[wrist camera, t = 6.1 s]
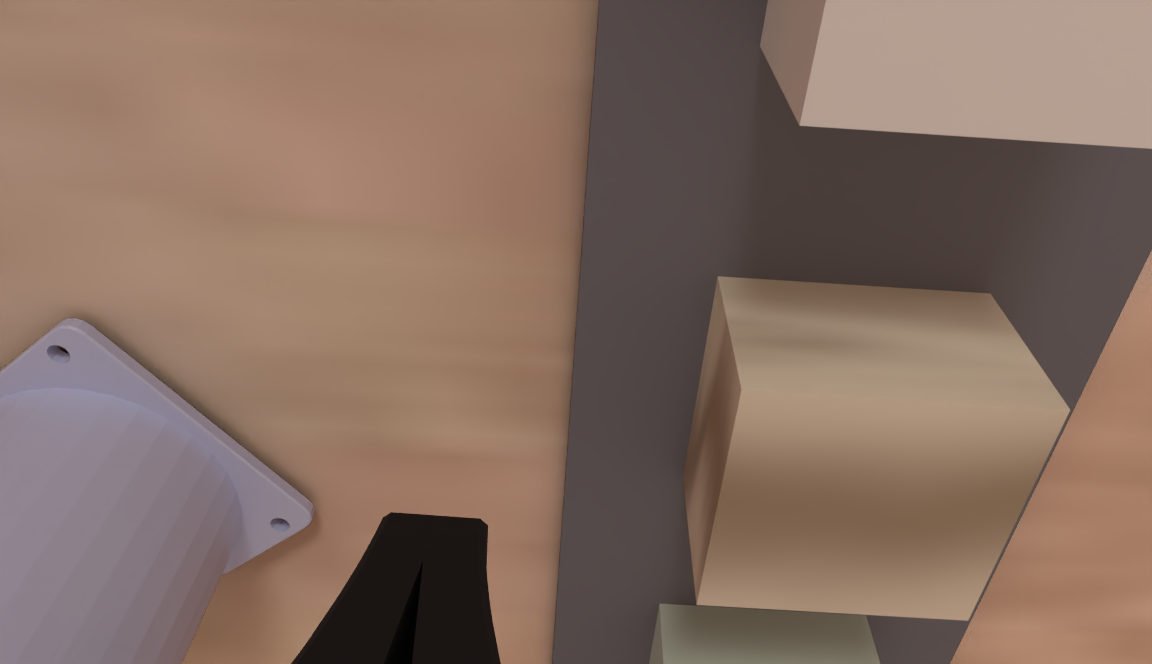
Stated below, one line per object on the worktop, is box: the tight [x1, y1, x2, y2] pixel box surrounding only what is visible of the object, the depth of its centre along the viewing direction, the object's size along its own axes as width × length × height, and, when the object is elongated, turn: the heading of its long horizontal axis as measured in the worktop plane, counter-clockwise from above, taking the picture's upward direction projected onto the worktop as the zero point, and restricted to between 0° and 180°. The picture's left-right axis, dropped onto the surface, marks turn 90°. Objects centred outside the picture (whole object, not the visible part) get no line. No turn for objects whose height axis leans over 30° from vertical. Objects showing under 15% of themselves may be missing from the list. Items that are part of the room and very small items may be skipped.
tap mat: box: [552, 0, 1152, 664], centre depth 21 cm, size 30×12×1 cm, turn 177°
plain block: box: [683, 276, 1070, 621], centre depth 19 cm, size 6×6×4 cm
